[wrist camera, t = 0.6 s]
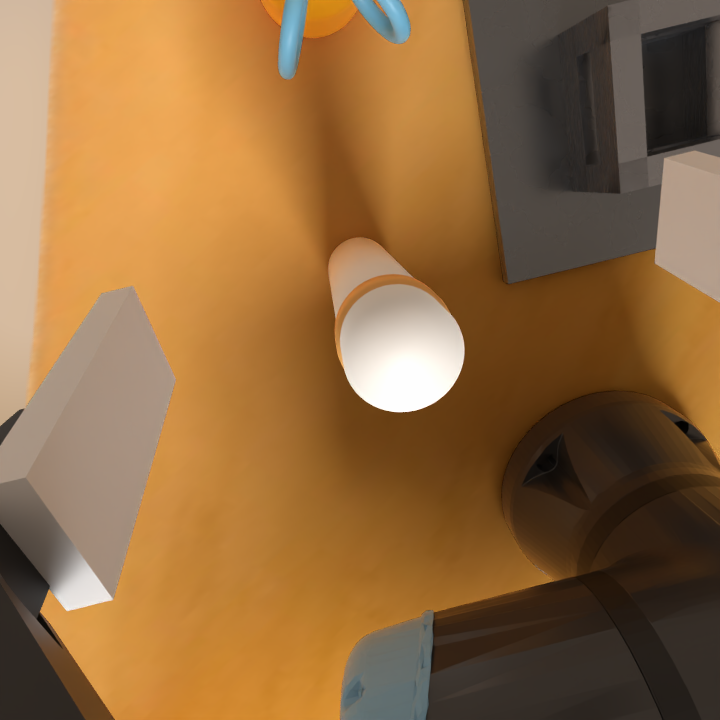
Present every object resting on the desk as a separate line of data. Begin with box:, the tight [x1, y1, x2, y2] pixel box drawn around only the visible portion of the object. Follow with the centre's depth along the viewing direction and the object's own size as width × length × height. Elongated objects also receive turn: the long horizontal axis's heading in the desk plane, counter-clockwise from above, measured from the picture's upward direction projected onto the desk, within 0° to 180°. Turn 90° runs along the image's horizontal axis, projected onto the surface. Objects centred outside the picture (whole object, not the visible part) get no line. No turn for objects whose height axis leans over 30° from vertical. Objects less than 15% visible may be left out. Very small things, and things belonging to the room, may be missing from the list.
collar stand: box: [463, 0, 720, 284], centre depth 30 cm, size 18×18×6 cm
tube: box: [328, 237, 464, 412], centre depth 26 cm, size 4×4×18 cm
